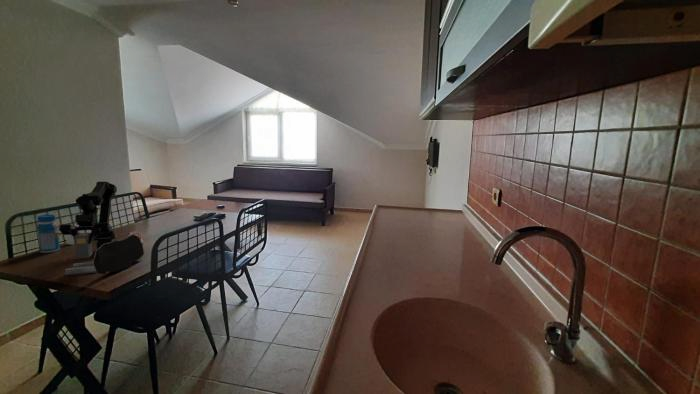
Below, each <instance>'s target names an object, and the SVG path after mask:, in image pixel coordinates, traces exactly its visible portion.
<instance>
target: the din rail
mask: <svg viewBox="0 0 700 394" xmlns="http://www.w3.org/2000/svg"><path fill="white" fill-rule="evenodd" d="M72 266H73V267H71V268H65V269H64V271H65V272H64V273H65V276H74V275H75V276H76V275H82V274H92V273H93V274H95V273H96V271H95V268H94V266H93V261H92V262H79V263H73V264H72ZM96 274H97V273H96Z"/></svg>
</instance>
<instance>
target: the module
mask: <svg viewBox="0 0 700 394" xmlns="http://www.w3.org/2000/svg"><path fill="white" fill-rule="evenodd" d="M90 234H91V232H80V233H78V234H77V235H75V236H74V237H75V244H74V245H75V255H76V256H75V257H76V259H89V258H91V256H92V255H93V254H94V253H93V243H92V242H93V241H92V242H91V243H90V244H89V243H88V241H89V237H90Z"/></svg>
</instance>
